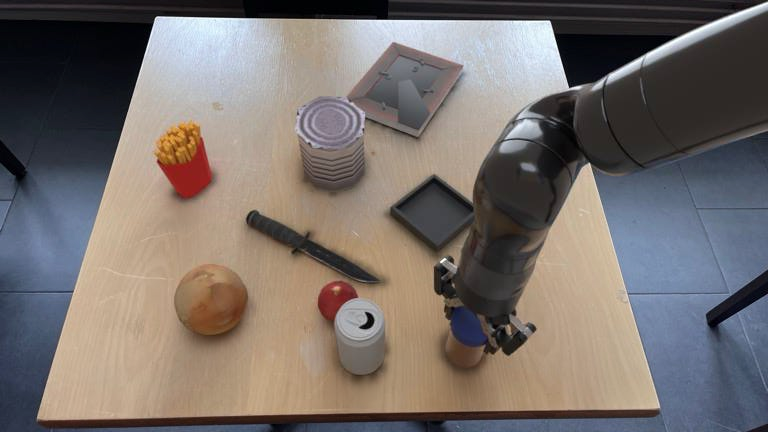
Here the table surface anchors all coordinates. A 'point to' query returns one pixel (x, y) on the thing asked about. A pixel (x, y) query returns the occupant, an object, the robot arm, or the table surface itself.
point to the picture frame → (405, 88)
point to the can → (331, 142)
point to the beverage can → (360, 335)
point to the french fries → (184, 159)
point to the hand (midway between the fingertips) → (470, 331)
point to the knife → (307, 246)
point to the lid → (467, 328)
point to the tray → (434, 212)
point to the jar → (462, 352)
